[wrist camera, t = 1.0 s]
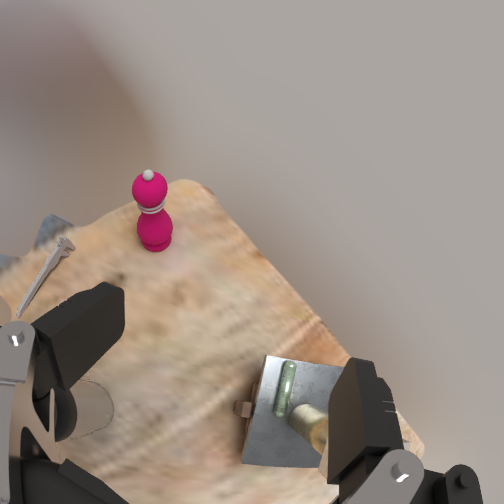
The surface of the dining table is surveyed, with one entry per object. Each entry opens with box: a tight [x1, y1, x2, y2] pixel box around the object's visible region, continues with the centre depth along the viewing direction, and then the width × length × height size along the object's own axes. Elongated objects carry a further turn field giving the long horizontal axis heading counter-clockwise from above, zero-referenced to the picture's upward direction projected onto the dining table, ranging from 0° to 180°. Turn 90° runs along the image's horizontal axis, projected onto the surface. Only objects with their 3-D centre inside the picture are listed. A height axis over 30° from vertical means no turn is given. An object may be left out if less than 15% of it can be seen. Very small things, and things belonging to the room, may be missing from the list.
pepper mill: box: [132, 170, 173, 252], centre depth 48 cm, size 7×7×20 cm
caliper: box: [16, 237, 75, 318], centre depth 44 cm, size 20×1×6 cm, turn 150°
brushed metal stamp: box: [240, 355, 411, 485], centre depth 28 cm, size 18×16×21 cm
